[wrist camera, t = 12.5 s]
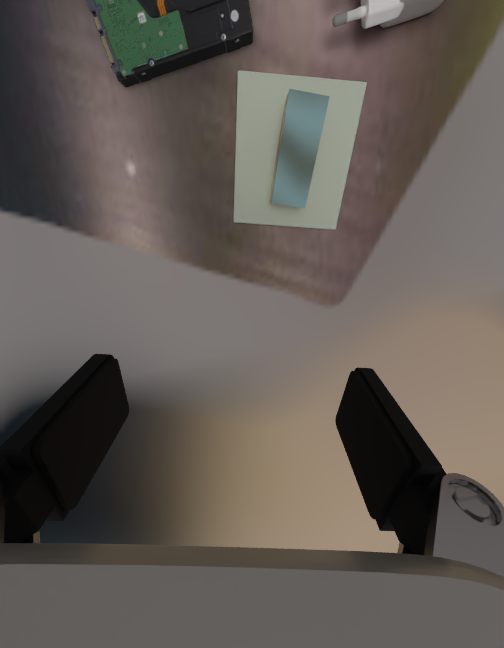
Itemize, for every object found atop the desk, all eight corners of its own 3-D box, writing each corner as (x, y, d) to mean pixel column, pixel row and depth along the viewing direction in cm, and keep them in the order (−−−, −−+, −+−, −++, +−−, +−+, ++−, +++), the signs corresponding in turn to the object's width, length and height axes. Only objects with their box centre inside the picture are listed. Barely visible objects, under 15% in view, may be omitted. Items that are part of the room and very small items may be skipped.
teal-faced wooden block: (284, 103, 27) (289, 88, 23) (319, 110, 27) (329, 96, 23) (269, 202, 31) (271, 203, 28) (298, 207, 32) (304, 208, 28)
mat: (233, 221, 33) (233, 222, 32) (238, 72, 26) (237, 70, 26) (334, 229, 33) (335, 229, 33) (364, 84, 27) (366, 82, 26)
